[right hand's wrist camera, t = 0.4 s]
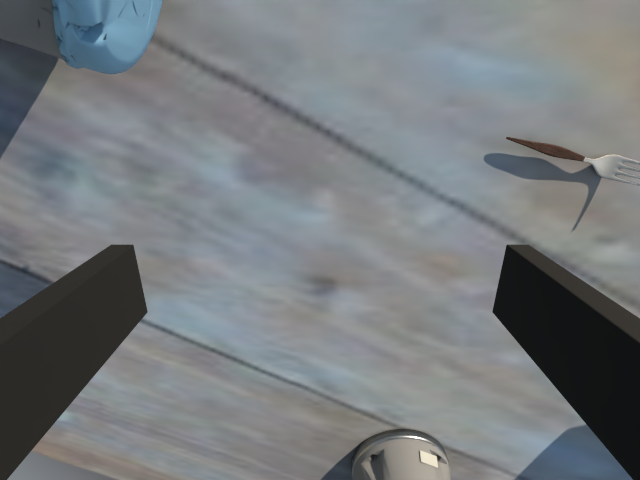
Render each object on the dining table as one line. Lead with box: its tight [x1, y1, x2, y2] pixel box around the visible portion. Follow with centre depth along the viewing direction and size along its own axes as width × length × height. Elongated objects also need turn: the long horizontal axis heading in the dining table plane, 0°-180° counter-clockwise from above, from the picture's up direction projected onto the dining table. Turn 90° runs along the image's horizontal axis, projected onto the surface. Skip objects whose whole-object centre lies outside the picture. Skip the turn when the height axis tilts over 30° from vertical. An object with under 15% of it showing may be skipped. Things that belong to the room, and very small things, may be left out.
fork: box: [506, 137, 640, 186], centre depth 37 cm, size 3×16×2 cm, turn 76°
